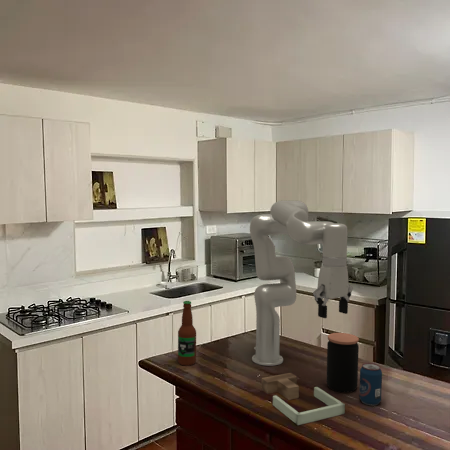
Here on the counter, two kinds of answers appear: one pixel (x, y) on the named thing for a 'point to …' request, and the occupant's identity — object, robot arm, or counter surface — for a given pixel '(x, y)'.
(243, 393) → the counter surface
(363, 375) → the soda can
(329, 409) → the frame
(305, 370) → the counter surface
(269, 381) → the t block
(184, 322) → the bottle
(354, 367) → the coffee jar
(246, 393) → the counter surface
